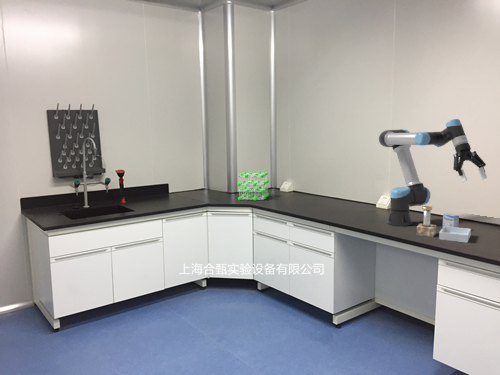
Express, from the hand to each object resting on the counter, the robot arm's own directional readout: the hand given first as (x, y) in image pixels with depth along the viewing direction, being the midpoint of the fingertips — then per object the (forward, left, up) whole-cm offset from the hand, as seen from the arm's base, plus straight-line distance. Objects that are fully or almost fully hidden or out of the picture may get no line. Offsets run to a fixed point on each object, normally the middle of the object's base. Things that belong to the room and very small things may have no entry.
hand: (474, 179), depth 221 cm
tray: (-8, -5, -32) cm, 34 cm away
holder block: (-23, -5, -32) cm, 40 cm away
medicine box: (-13, +15, -33) cm, 38 cm away
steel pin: (-23, -5, -32) cm, 40 cm away
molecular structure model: (-183, +55, -33) cm, 194 cm away
